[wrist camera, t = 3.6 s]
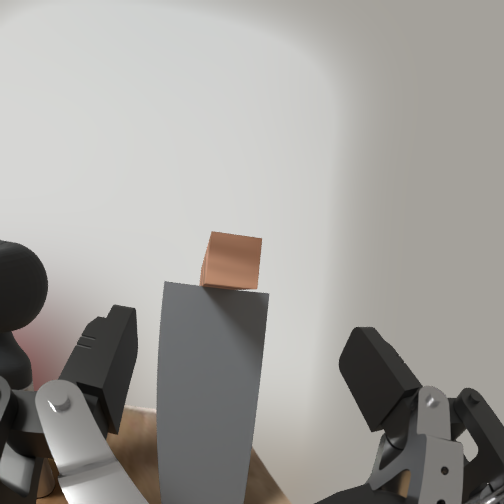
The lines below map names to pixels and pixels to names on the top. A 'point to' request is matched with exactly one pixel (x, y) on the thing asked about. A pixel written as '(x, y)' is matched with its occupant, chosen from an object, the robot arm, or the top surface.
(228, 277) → the batten
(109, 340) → the robot arm
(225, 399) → the pedestal
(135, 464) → the top surface
